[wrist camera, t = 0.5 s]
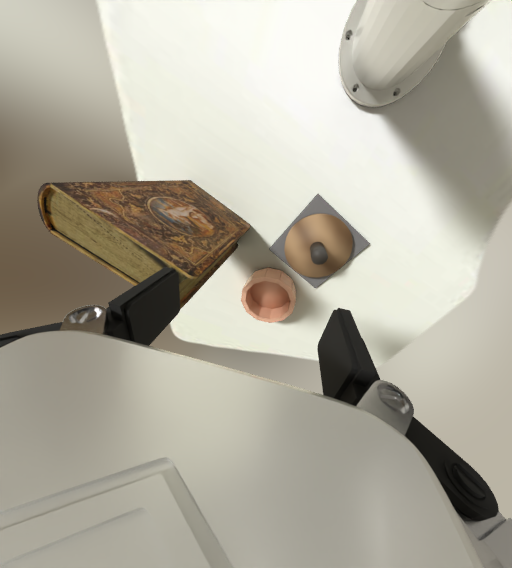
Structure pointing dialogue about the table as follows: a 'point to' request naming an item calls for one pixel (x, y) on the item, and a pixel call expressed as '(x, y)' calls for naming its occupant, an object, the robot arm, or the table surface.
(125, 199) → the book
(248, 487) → the robot arm
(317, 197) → the mat
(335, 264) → the lid
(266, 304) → the bowl
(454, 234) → the table surface
